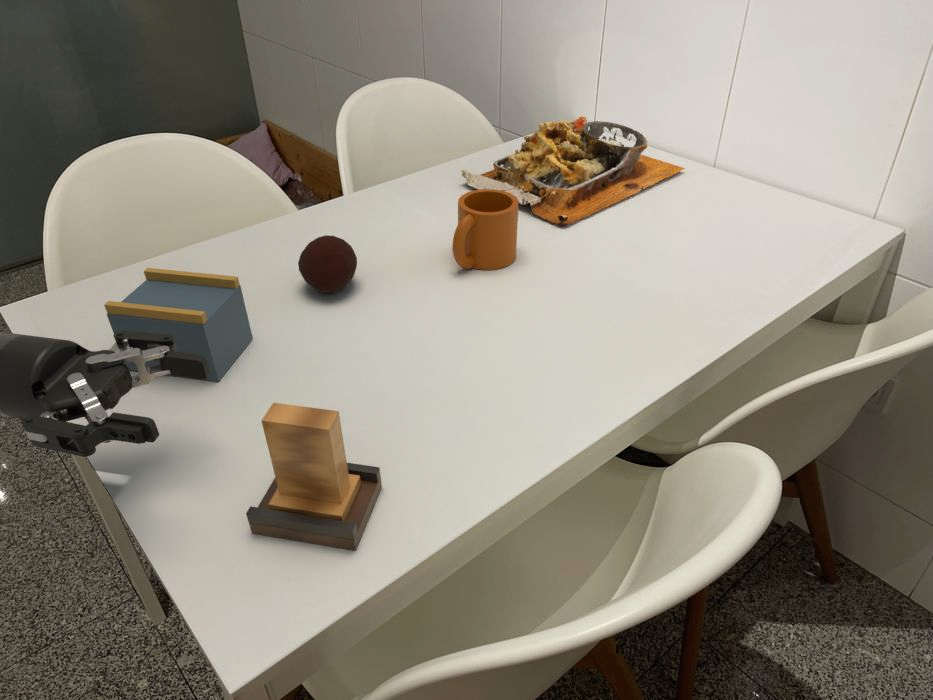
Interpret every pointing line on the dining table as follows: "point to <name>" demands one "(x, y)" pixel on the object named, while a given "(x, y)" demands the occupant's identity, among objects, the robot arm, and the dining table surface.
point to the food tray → (573, 170)
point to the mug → (486, 230)
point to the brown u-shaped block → (317, 527)
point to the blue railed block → (188, 315)
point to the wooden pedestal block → (309, 462)
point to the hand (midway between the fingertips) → (182, 397)
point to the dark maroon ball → (328, 264)
